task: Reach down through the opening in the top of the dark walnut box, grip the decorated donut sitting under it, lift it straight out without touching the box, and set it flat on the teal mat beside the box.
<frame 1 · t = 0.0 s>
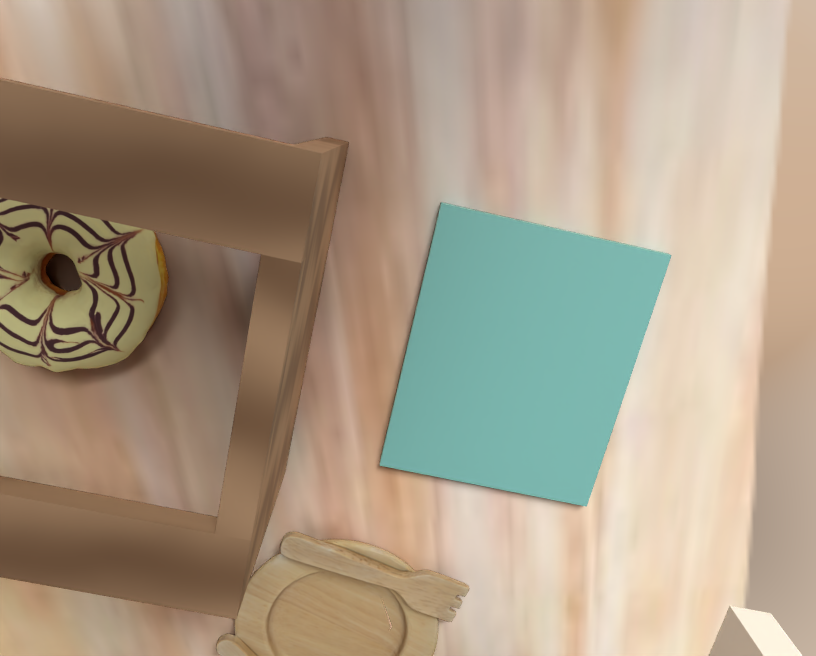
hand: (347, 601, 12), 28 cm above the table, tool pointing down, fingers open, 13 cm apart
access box: (76, 268, 38), on the table
decorated donut: (79, 266, 39), on the table
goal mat: (517, 361, 40), on the table
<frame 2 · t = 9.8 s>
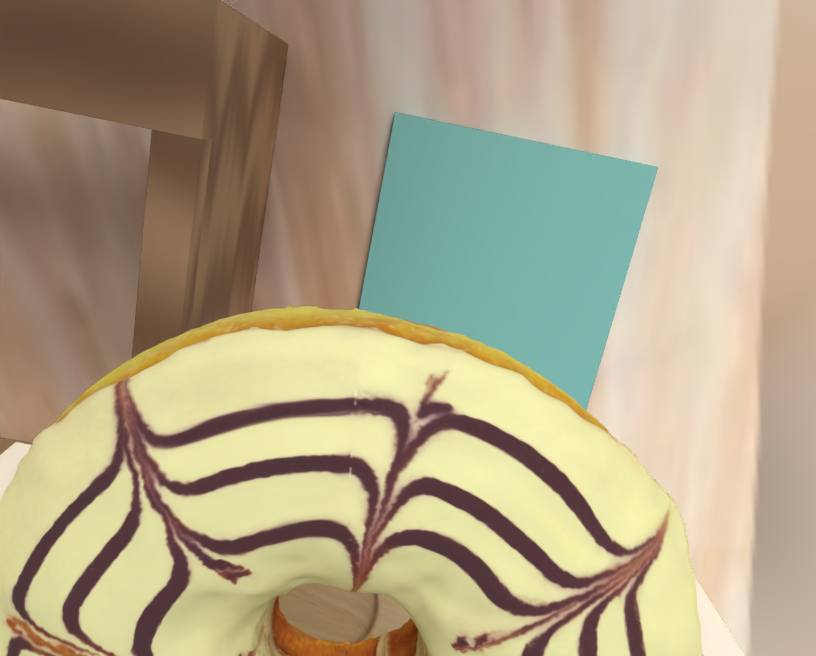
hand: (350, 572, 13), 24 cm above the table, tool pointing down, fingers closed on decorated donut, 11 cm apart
decorated donut: (353, 549, 13), point 24 cm above the table, touching gripper
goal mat: (488, 295, 36), on the table
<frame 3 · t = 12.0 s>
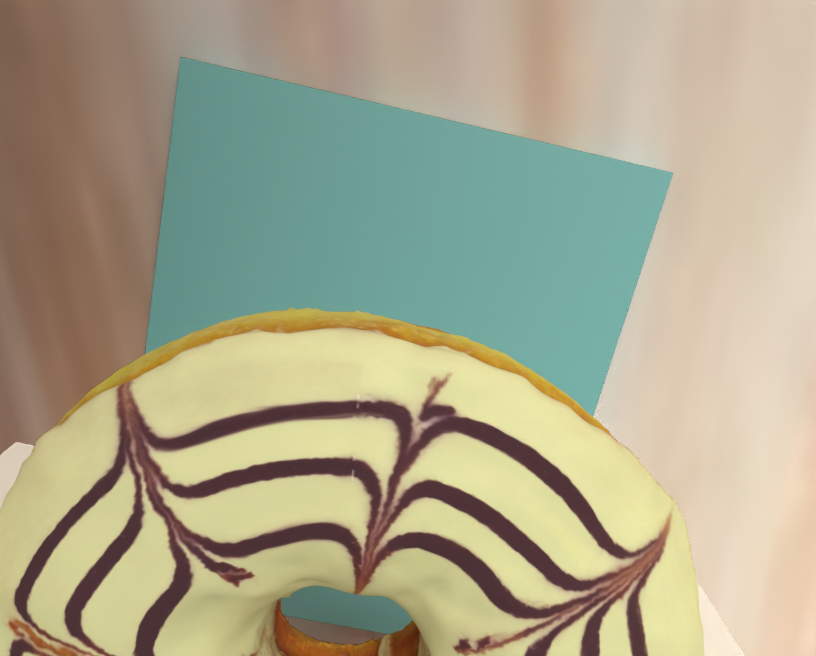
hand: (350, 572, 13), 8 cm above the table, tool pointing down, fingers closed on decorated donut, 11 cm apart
decorated donut: (354, 551, 13), point 8 cm above the table, touching gripper
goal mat: (370, 390, 21), on the table
when the fingers open (2 cm above the table, at t = 14.0 s): decorated donut stays where it is, resting on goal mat.
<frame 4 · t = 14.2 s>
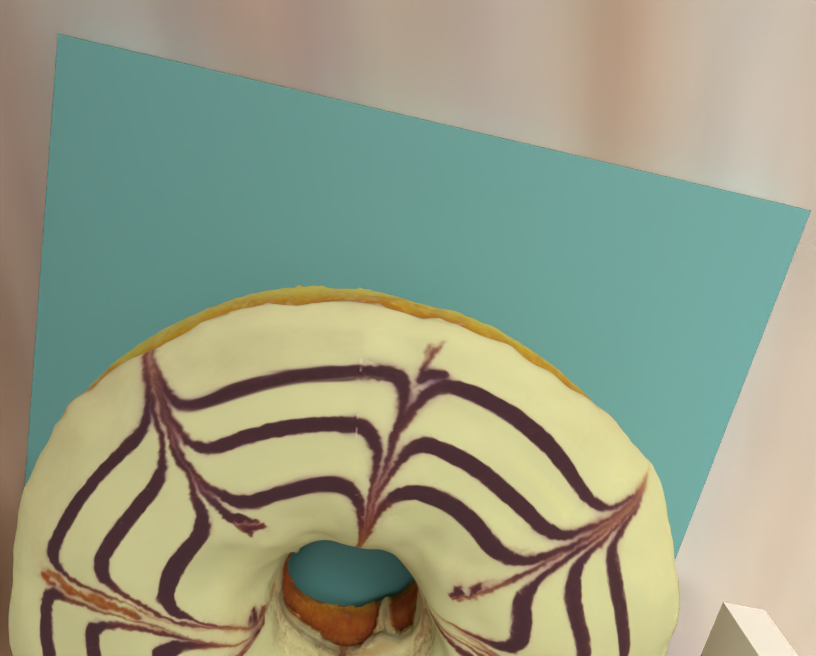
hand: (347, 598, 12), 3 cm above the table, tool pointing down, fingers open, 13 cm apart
decorated donut: (356, 520, 14), resting on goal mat
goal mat: (356, 515, 14), on the table
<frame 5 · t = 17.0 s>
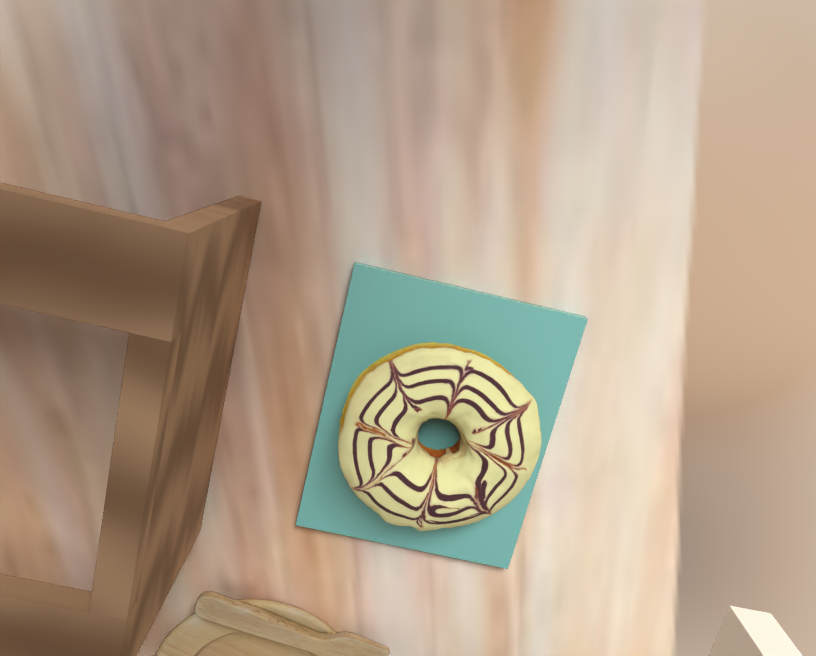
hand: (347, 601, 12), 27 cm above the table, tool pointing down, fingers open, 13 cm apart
decorated donut: (436, 422, 39), resting on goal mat
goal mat: (435, 422, 40), on the table
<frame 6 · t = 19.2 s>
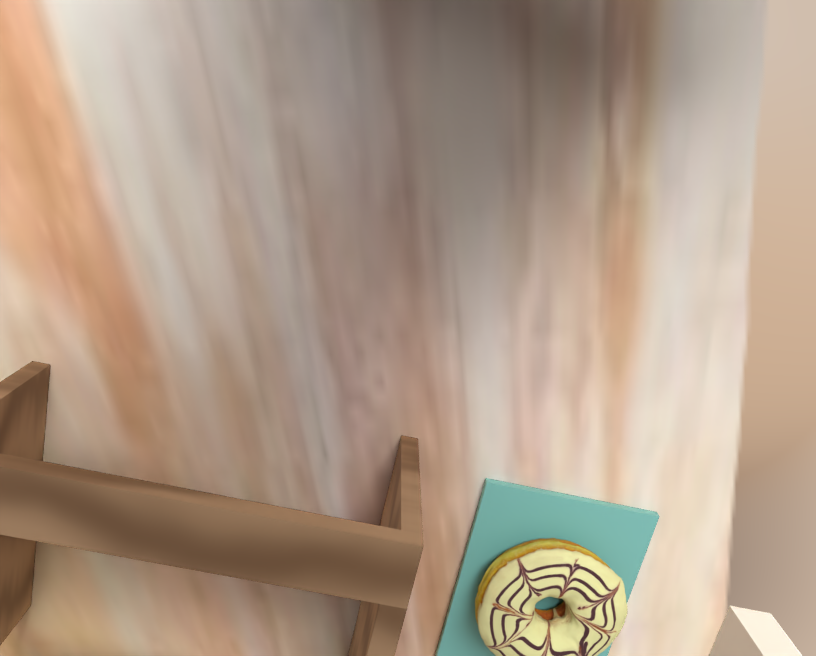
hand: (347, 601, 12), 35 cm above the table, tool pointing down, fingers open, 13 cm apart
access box: (209, 523, 51), on the table
decorated donut: (543, 587, 52), resting on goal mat
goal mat: (541, 586, 53), on the table
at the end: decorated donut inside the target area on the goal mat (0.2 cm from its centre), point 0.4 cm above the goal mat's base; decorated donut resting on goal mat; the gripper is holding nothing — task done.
